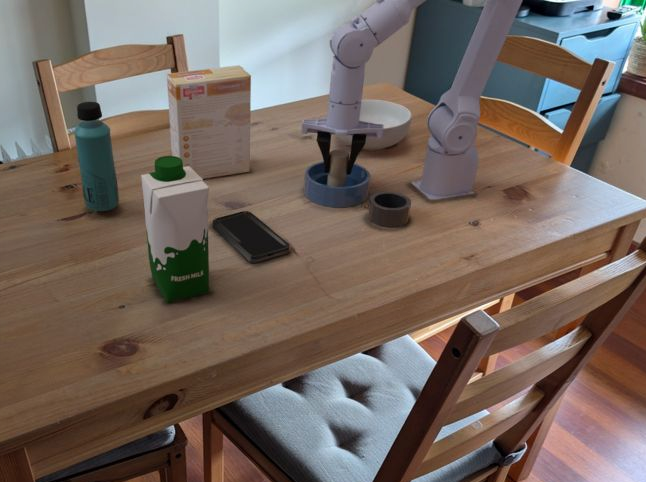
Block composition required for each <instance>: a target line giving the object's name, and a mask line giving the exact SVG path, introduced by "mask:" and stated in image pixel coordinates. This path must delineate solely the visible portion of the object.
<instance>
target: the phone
mask: <svg viewBox="0 0 646 482" xmlns="http://www.w3.org/2000/svg"><path fill="white" fill-rule="evenodd" d="M212 228H213V229H214V230H215V231H216V232H217V233H218V234H219V235H220V236H221V237H222V238H223V239H224V240H225V241H227V242H228V243H229V244H230V246H231V247H234V249H235V250H236V251H237V252H238V253H240V254H241V255H242V256H243V257H244V259H246V260H247V261H248V262H250V263H253V264H254V263H255V264H256V263H260V262H263V261H266V260H270V259H273V258H278V257H281V256H285V255H288V254H289V253H290V244H289V243H288V242H287V241H286V240H285V239H284V238H282V236H280V235H279V234H278V233H277V232H275V231H274V230H273V229H271V228H270V227H269V225H267V224H266V223H264V222H263V221H262V220H261V219H260V218H258V217H257V216H256V215H255V214H254V213H253V212H251V211H248V210H242V211H238V212H234V213H231V214H227V215H223V216H220V217H215V218H213V219H212Z"/></svg>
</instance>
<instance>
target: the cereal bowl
mask: <svg viewBox="0 0 646 482" xmlns="http://www.w3.org/2000/svg"><path fill="white" fill-rule="evenodd" d="M359 121H364V122H369V123H374V124H383V125H384V127H383V135H382V139H377V138H376V137H369V136H366V143H365V145H364V147H363V148H362V150H361V151H366V152H374V151H375V152H376V151H381V150H383V149H385V148H389V147H392V146H394V145H396V144H398V143H400V142H401V141H402V140H403V139H404V138H405V137H406V136H407V135H408V132H409V131H410V127H411V123H412V113H411V111H410V109H408V108H407V107H406V106H404V105H402V104H399V103H396V102H393V101H388V100H381V99H362V101H361V109H360V117H359ZM336 136H337V138H339V140H341V141H342V142H343V143H345V144H347V145H349V146H351V144H352V135H347V136H338V135H336Z"/></svg>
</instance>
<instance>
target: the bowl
mask: <svg viewBox="0 0 646 482" xmlns="http://www.w3.org/2000/svg"><path fill="white" fill-rule="evenodd" d="M371 177H372V176H371V173H370V171H369V170H368V169H367V168H366V167H364V166H362V165H360V164H358V163H354V165H353V168H352V171H351V175H347V181H346V187H333V186H327V180H328V173H325V168H324V161H323V160H322V161H318V162H315V163H312V164H311V165H309V166H308V167H307V168H306V170H305V171H304V179H303V180H304V181H303V183H304V184H303V195H304V197H305V198H306V199H307V200H308V201H310V202H312V203H314V204H316V205H319V206H323V207H327V208H350V207H355V206H358V205H360V204H363V203H365V201H367V199H368V196H369V192H370V184H371V179H372V178H371Z"/></svg>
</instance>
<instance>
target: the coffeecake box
mask: <svg viewBox="0 0 646 482" xmlns="http://www.w3.org/2000/svg"><path fill="white" fill-rule="evenodd" d="M166 81H167V82H166V83H167V84H166V85H167V101H168V118H169V133H170V148H171V156H175V157H179V158H181V159H182V161H183V167H187V166H190V167H191V168H192V169H193V170H194V171H195V172H196V173H197V174H198V175H199V176H200V177H201V178H202V179H203V180H204V179H210V178H218V177H223V176H230V175H236V174H243V173H250V171H251V109H252V108H251V107H252V106H251V103H252V101H251V100H252V99H251V98H252V74H250V73H249V72H248V71H246V70H245V68H244V67H243V66H241V65H240V64H238V65H237V64H236V65H230V66H222V67H212V68H204V69H197V70H196V69H195V70H188V71H179V72H170V73H167V74H166Z"/></svg>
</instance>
